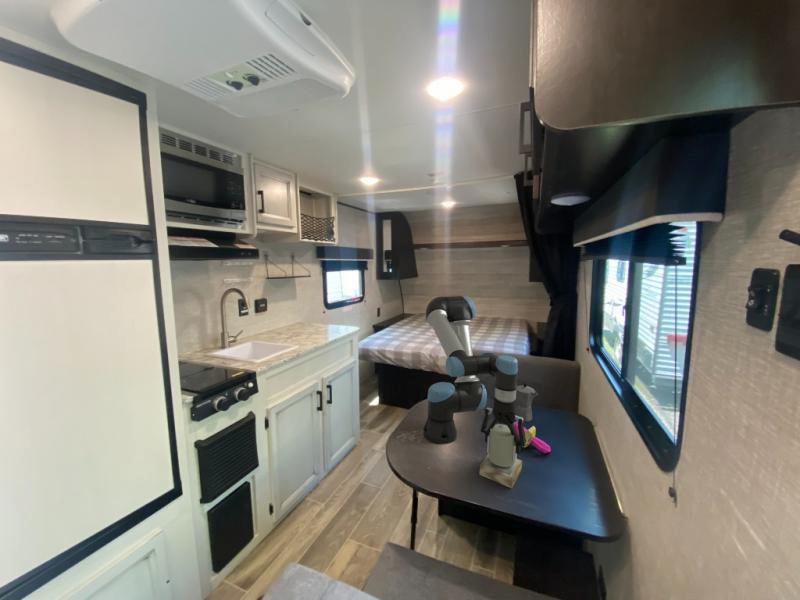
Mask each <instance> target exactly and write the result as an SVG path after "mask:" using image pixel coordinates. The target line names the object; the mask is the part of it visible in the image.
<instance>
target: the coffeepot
mask: <svg viewBox="0 0 800 600" xmlns="http://www.w3.org/2000/svg"><path fill="white" fill-rule="evenodd" d="M538 395H539V393H538V392H537V391H536V390H535V389H534V388H533V387H530V386H528V384H527V383H526V382H525V383H523V385H517V387H516V399H515V401H516V404H515V414H516V416H518V417H524V421H523V422H531V421H533V411H532V403H533V400H534V399H535V397H536V396H538Z"/></svg>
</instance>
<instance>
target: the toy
mask: <svg viewBox="0 0 800 600" xmlns="http://www.w3.org/2000/svg"><path fill="white" fill-rule="evenodd" d="M513 422H514V426H515V428H516V431H517V433H518V436H519V430H518V423H517V422H516V421H513ZM536 429H537V428H536V427H535V426H534V425H533V426H531V427H530V428H528V429H527V428H526V427H525V426H524V432H525V438H526V444H525V445H524V446H521V448H525V449H526V448H527V447H528V446H530V444H531V445H532V446H534V448H536V449H537V450H539V451H540V452H543V454H546V453H549V452H551V451H552V450H551V446H550V445H549V444H547V443H546V442H545V441H544V440H541V439H540V438H538V437H536V433H537V431H536ZM519 438H520V436H519Z"/></svg>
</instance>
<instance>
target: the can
mask: <svg viewBox="0 0 800 600" xmlns="http://www.w3.org/2000/svg"><path fill="white" fill-rule="evenodd" d="M514 444H515V442H514V436H513V435H512V434H511V432H510V429H509V428H508V426H507V425H506V424H504V423H500V424H499V423H496V425H495V426H494V427H493V429H491V428H490V449H489V460H490V461H491V462H492V463H494V464H495V465H498V466H501V467H509V466H512V465H513V464H514V462H512V460H513V445H514Z"/></svg>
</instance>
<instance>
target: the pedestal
mask: <svg viewBox="0 0 800 600" xmlns="http://www.w3.org/2000/svg"><path fill="white" fill-rule="evenodd" d="M522 467H523V460H521V459H518V458H517V459H516V461H515V463H514V464H513V465H512V466H509V467H501V466H498V465H495V464H494V463H492V462H491V461H490V460H489V453H487V454H486V455H485V457H484V459H483V460H482V461H481V463H480V464H479V473H478V474H479V475H480V476H482V477H484V478H487V479H489V480H490V481H493V482H496V483H498V484H499V485H503V486H505V487H508V488H509V489H513V487H514V486H515V483H516V482H517V480H518V477H519V476H520V474H521V472H522Z"/></svg>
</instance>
